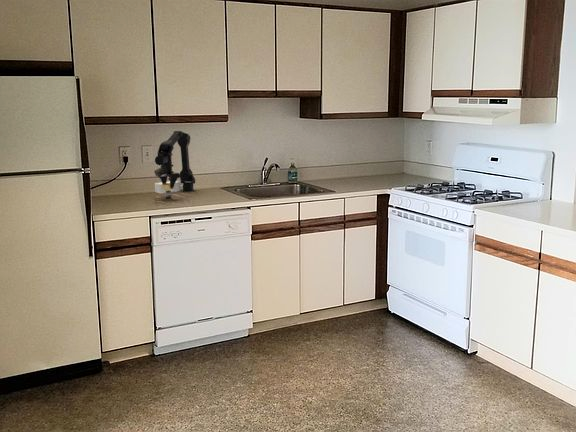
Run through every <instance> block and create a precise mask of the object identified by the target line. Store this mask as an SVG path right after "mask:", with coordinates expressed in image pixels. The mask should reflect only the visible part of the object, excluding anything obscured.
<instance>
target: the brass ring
mask: <svg viewBox="0 0 576 432" xmlns="http://www.w3.org/2000/svg"><path fill="white" fill-rule="evenodd" d="M162 189H163V190H172V189H171V186H170V183H164V184H162ZM173 189H174V187H173Z"/></svg>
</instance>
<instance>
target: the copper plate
mask: <svg viewBox="0 0 576 432" xmlns="http://www.w3.org/2000/svg"><path fill="white" fill-rule="evenodd" d="M190 197H191V198H192V197H194V195H193V194H187V193H182V192H176V193H171V199H166V196H165V194H163V195H158V196H156V198H158V199H162V200H167V201H171V200H172V201H173V200H180V199H185V198H190Z"/></svg>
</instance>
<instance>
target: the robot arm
mask: <svg viewBox="0 0 576 432" xmlns="http://www.w3.org/2000/svg"><path fill="white" fill-rule="evenodd" d="M176 143H177V144H178V145H179V147H180V156H181V157H180V158H181V167H182V168H181V170H180V172H174V171H173V167H174V164H173V162H172V156H173V153H172V152H173V151H174V148H175V147H174V145H176ZM190 144H191V136H190V134H189V133H186V132H183V131H181V130H174V131H173V133H172V135H170V137H169V138H168V139H167V140H164V141H162V142H161V143H160V144H159V147H158V150H157V156H156V157H155V159H154V163H155V164H156V165H157V166H160V167H158V168H157V169H156V170H154V171H153V173H154V174H155V177H157V178H159V180H160V181H161V182H162V184H164V183H166V182H168V180H169V181H170V186H171V189H173V187H174V184H175V182H176V181H178V179H179V181H181V183H182V192H186V193H187V192H193V191H194V184H196V178H195V176H194V175H193V171H192V170H191V168H190V158H189V157H190V156H189V154H190V153H189V145H190Z"/></svg>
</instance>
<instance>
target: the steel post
mask: <svg viewBox="0 0 576 432" xmlns="http://www.w3.org/2000/svg"><path fill="white" fill-rule="evenodd" d="M171 194H172V192H171V191H170V190H166V191H165V193H164V195H165V196H166V199H171ZM166 199H165V200H166Z"/></svg>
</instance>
